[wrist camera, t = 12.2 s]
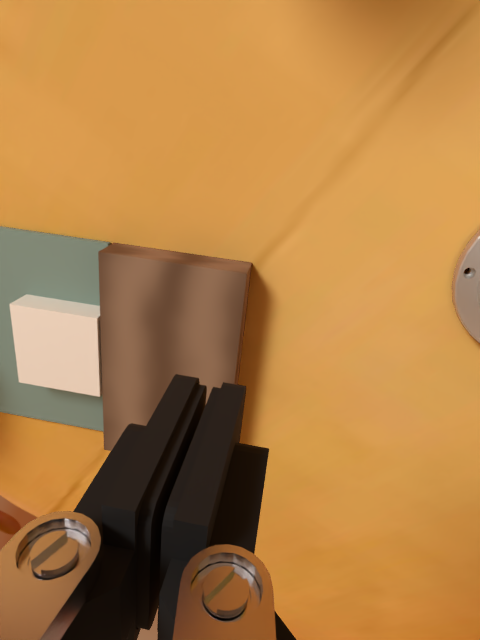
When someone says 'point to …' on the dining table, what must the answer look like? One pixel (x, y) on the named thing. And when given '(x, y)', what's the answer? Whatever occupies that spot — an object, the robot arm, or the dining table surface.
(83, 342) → the tile
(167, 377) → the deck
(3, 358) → the mat
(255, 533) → the robot arm
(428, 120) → the dining table surface
